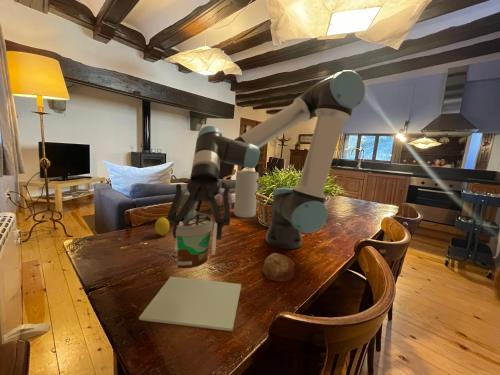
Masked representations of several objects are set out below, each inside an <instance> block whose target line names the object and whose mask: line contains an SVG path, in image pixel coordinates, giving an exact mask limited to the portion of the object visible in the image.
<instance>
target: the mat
mask: <svg viewBox="0 0 500 375" xmlns="http://www.w3.org/2000/svg"><path fill="white" fill-rule="evenodd" d="M241 288H242V283H233V282H225V281H224V282H223V281H214V280H206V279H197V278H187V277H179V276H170V277H169V278H168V279H167V280H166V282H165V283H164V284H163V285H162V287H161V288H160V290H159V291H158V292H157V294H156V295H155V296H154V297H153V298H152V299H151V301H150V302H149V303H148V305H147V306H146V307H145V309H144V310H143V312H142V313H141V314H140V316H138V320H140V321H144V322H145V321H147V322H152V323H153V322H154V323H163V324H171V325H178V326H187V327H195V328H202V329H211V330H219V331H228V332H233V330H234V326H235V321H236V316H237V315H236V314H237V311H238V310H237V309H238V306H239V300H240V296H241Z"/></svg>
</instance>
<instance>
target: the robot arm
mask: <svg viewBox="0 0 500 375" xmlns="http://www.w3.org/2000/svg"><path fill="white" fill-rule="evenodd" d="M365 95H366V86H365V82H364V81H363V78H362V77H361V75H360V74H358V73H357V72H356V71H354V70H349V69H346V70H342V71H338V72H335V73H334V74H332V75H331V76H329V77H327V78H324V79H322V80H321V81H319V82H316V83H315V84H313V85H312V86H311V87H310V88H308V89H307V90H306V91H304V92H303V93H302V94H300V95H299V96H297V97H296V98H295V99H294V100H293V102H292V103H291V104H289V105H288V106H286V107H284V108H283V109H281V110H280V111H278V112H277V113H275V114H273V115H272V116H270V117H268V118H267V119H265V120H264V121H262V122H261V123H259V124H257V125H256V126H254V127H252V128H251V129H248V130H247V131H245V132H244V133H243V134H241V135H239V136H238V137H236V138H235V139H232V138H228V137H227V136H223V134H222V131H221V129H218V127H217V126H214V125H206V126H203V127H202V128H201V129H200V130H199V131H198V135H197V138H196V142H195V149H194V156H193V160H192V161H193V162H192V166H191V172H190V178H189V182H188V183H187V184H186V185H181V184H179V183H178V184H176V185H175V191H176V192H175V194H174V197H173V200H172V203H171V206H170V208H169V211H168V214H167V220H168V221H169V224H174V225H173V228H172V229H173V230H172V236H173V238H174V239H175V244H174V245H175V246H174V251H175V254H177V255H178V253H177V250H178V248H177V236H176V229H177V226H183V225H184V224H183V221H184V219H185V218H186V216H187V215H188V213H189V211H190V210H191V208H192V206H193V205H194V204H195V203H196V201H197V202H199V201H202V202H208V203H209V206H210V209H211V212H212V215H213V218H214V221H215V222H213V223H214V229H213V232H212V244H211V255H212V256H215V255H216V250H217V240H221V239H222V235H223V234H222V233H223V228H224V227H225V226H230V223H231V212H230V205H229V203H230V202H229V195H230V187H228V186H226V187H225V188H223V187H220V185H219V183H220V182H219V180H220V170H221V168H220V166H221V163H226V164H230V165H233V166H238V167H243V168H246V169H247V168H248V169H255V168H256V166H257V165H258V163H259V160H260V155H261V150H260V149H261V148H262V147H263V146H265V145H267V144H268V143H270V142H271V141H273V140H274V139H276V138H278V137H279V136H281V135H283V134H284V133H285V132H287V131H289V130H291V129H293V127H296V126H297V125H298V124H300V123H301V122H308V121H310V120H311V119H314V118H316V117H317V119H316V123H315V126H314V131H313V134H312V137H311V140H310V144H309V149H308V150H307V155H306V157H305V161H304V165H303V168H302V172H301V176H300V179H299V182H298V184H297V185H296V186H295V187H276V188H275V189H274V192H273V195H272V198H273V199H272V208H271V209H272V211H271V222H270V225H269V227H268V230H267V232H266V234H265V242H266V243H267V244H268V245H269V246H272V247H275V248H278V249H285V250H294V249H297V248H298V249H299V248H301V246H302V245H303V236H302V233H304V234H313V233H315V232H316V231H318V230H319V231H320V229H321V228H323V227H324V226H325V224H326V222H327V220H328V215H329V214H328V210H327V207H326V206H325V203H326V200H327V199H326V198H327V197H326V196H327V195H326V194H325V192H324V189H325V186H326V183H327V181H328V180H327V179H328V176H329V173H330V169H331V166H332V164H333V159H334V156H335V154H336V148H338V143H339V139H340V136H341V132H342V129H343V126H344V123H346V122H348V121H349V120H350V119H351V117H352V112H353V109H355V108H356V107H358V106H359V105H360V104H361V103H362V102H363V101H364V98H365ZM186 191H188V192H189V193H190V195H189V198H188V199H187V201H186V202H185V204H184V206H183V207H182V209H181V208H180V203H181V200H182V195H184V194H185V192H186ZM219 193H220V196H221V197H222V205H223V206H222V208H223V218H222V215H221V212H220V210H219V206H218V204H217V202H216V199H215V198H216V196H217V195H218V194H219ZM179 209H180V210H179ZM301 232H302V233H301Z"/></svg>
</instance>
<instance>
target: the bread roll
mask: <svg viewBox="0 0 500 375" xmlns="http://www.w3.org/2000/svg"><path fill="white" fill-rule="evenodd" d="M296 269H297V266H296V264H295V262H294V261H293V260H292V258H290V257H289V256H287V255H283V254H281V253H277V252H273V253H271V254H270V255H268V256H267V257H266V258H265V259H264V263H263V268H262V270H261V271H262V272H263V274H264V275H265V277H266V278H267V279H269V280H271V281H273V282H280V283H281V282H286V281H290V280H291V279H293V278H294V277H295V275H296Z"/></svg>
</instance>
